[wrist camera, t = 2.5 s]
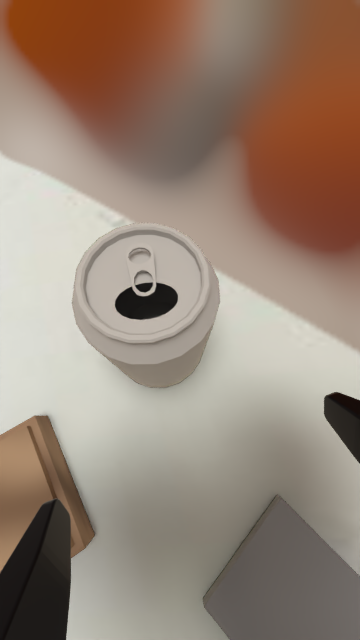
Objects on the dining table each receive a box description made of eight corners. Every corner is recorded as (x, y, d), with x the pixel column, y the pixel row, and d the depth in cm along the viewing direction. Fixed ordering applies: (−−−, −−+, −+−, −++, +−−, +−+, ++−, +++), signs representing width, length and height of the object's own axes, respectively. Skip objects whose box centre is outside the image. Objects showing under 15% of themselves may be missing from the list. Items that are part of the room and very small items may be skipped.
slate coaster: (376, 594, 17) (385, 602, 16) (306, 725, 15) (312, 741, 14) (277, 494, 19) (281, 497, 18) (202, 598, 17) (204, 606, 16)
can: (121, 396, 21) (57, 371, 10) (113, 312, 24) (56, 219, 13) (210, 380, 22) (245, 340, 11) (193, 300, 24) (206, 199, 13)
